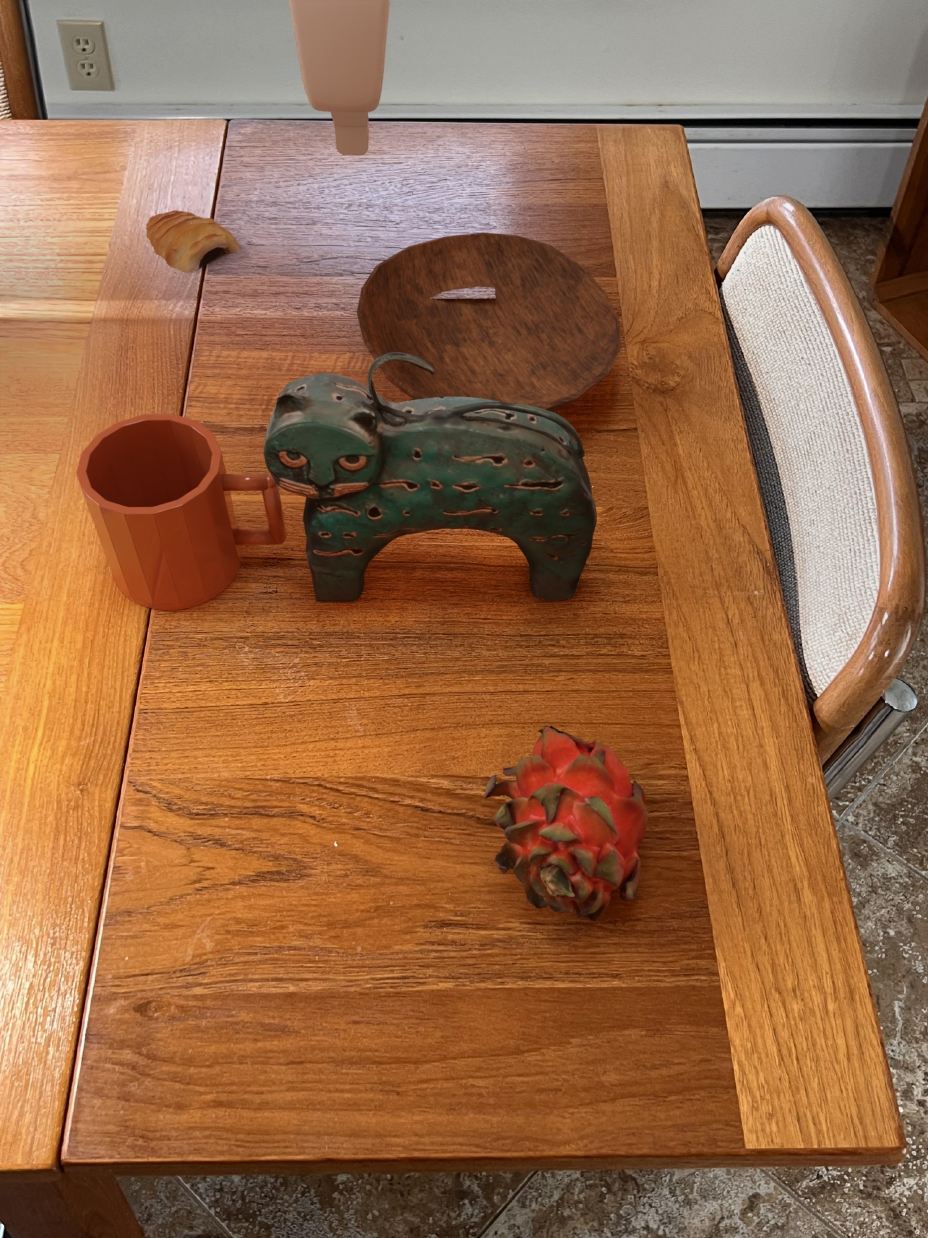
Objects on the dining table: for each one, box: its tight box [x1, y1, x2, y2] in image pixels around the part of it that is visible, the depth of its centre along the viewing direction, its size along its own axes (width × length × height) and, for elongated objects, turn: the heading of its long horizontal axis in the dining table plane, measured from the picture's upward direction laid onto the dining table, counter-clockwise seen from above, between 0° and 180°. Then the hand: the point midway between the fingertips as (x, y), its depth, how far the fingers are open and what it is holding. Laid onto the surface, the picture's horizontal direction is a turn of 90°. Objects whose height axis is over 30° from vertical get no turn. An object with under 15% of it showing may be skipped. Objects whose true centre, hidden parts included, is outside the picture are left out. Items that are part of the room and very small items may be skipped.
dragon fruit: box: [483, 725, 649, 922], centre depth 64 cm, size 8×8×12 cm
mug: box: [76, 413, 288, 611], centre depth 76 cm, size 12×9×10 cm
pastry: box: [145, 209, 242, 274], centre depth 99 cm, size 9×7×4 cm
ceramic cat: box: [263, 352, 598, 603], centre depth 71 cm, size 20×6×20 cm, turn 90°
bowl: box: [356, 232, 622, 413], centre depth 90 cm, size 20×22×5 cm
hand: (357, 104), depth 68 cm, fingers open, 8 cm apart
